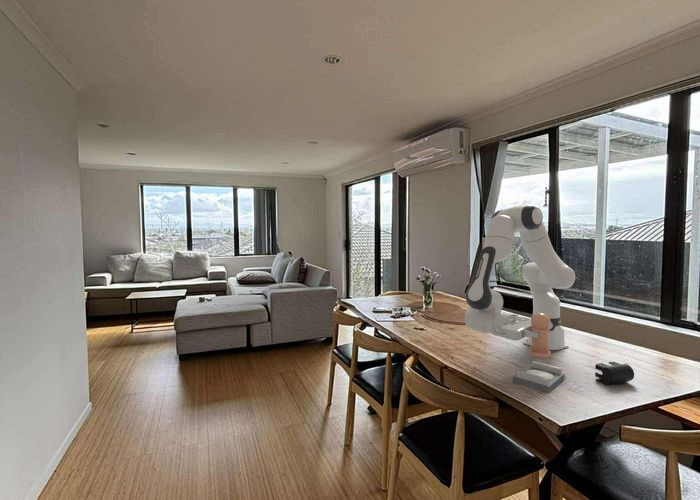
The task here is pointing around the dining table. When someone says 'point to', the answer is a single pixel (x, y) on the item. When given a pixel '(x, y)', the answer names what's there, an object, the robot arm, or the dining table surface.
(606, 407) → the dining table surface
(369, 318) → the dining table surface
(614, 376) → the end cap
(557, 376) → the display plinth
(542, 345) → the ball-topped peg
